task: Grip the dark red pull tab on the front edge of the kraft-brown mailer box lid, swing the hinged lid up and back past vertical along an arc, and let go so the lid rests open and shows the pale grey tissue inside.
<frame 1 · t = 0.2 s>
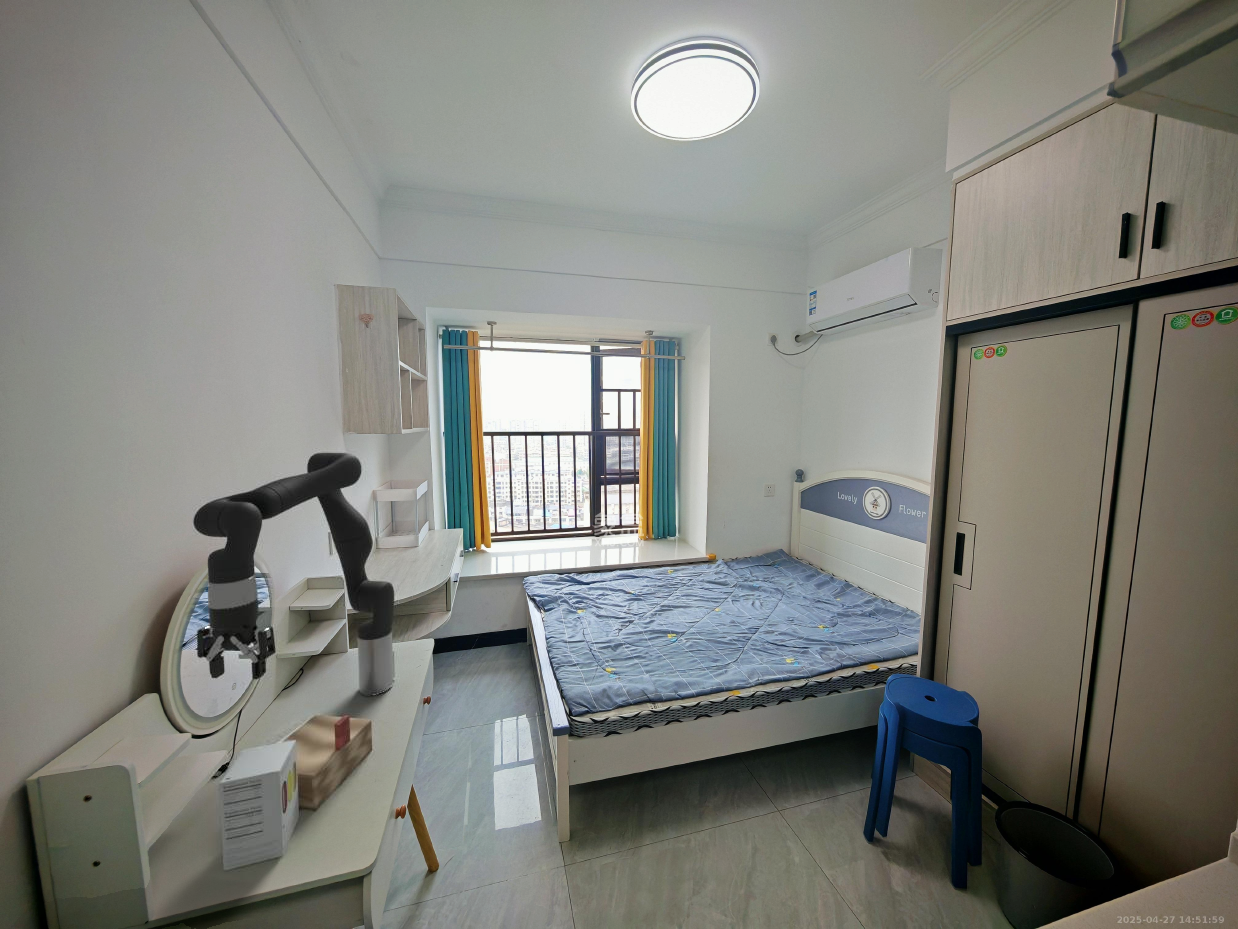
hand: (238, 676, 92), 29 cm above the table, tool pointing down, fingers open, 8 cm apart
external hard drive: (308, 737, 116), on the table
supplement box: (264, 843, 86), on the table
mailer base: (316, 774, 103), on the table
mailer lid: (314, 731, 102), point 10 cm above the table, hinge at 0.0°
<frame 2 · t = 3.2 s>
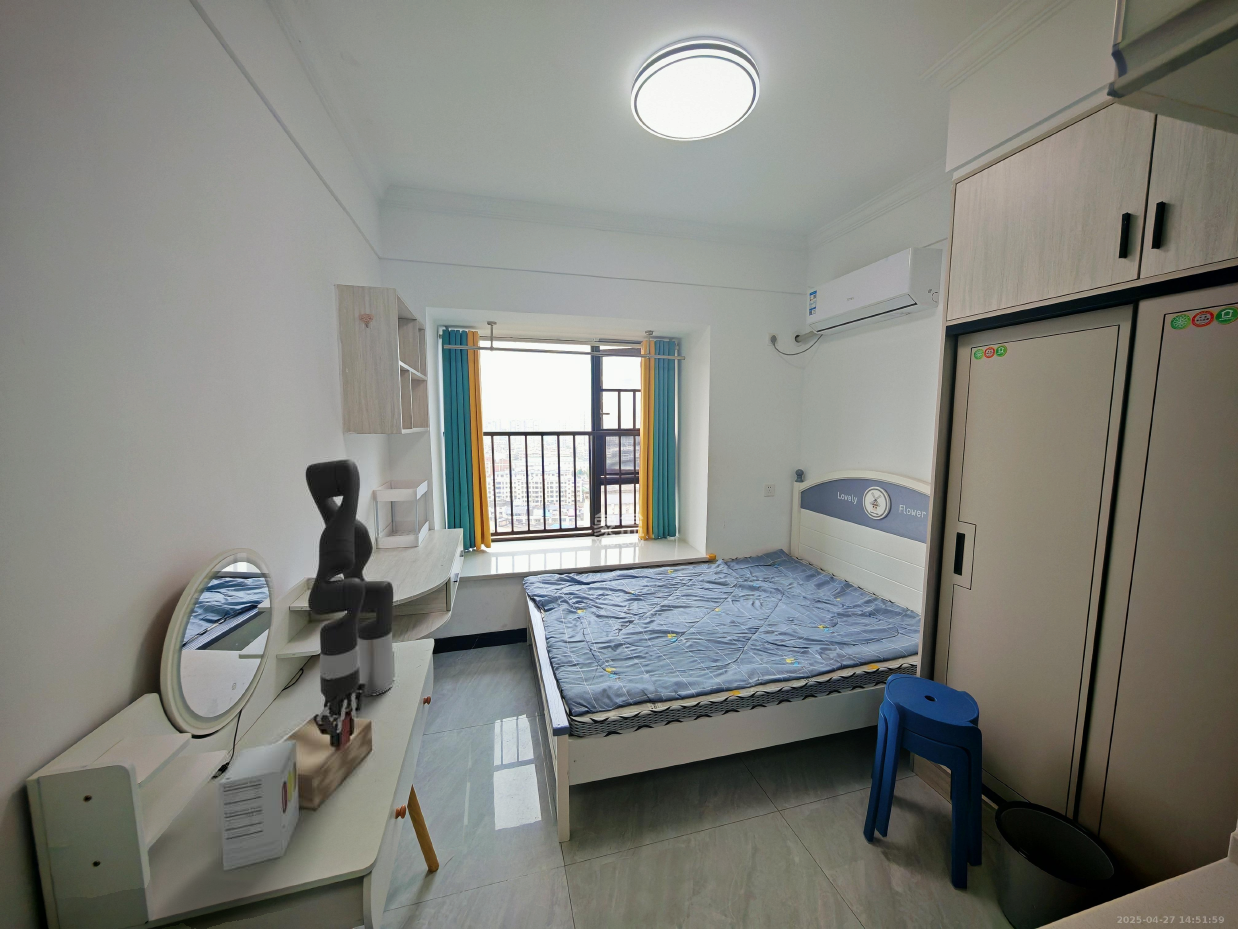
hand: (342, 740, 102), 9 cm above the table, tool pointing down, fingers closed on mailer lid, 3 cm apart
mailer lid: (314, 731, 102), point 10 cm above the table, hinge at 0.0°, touching gripper
everything else where it was.
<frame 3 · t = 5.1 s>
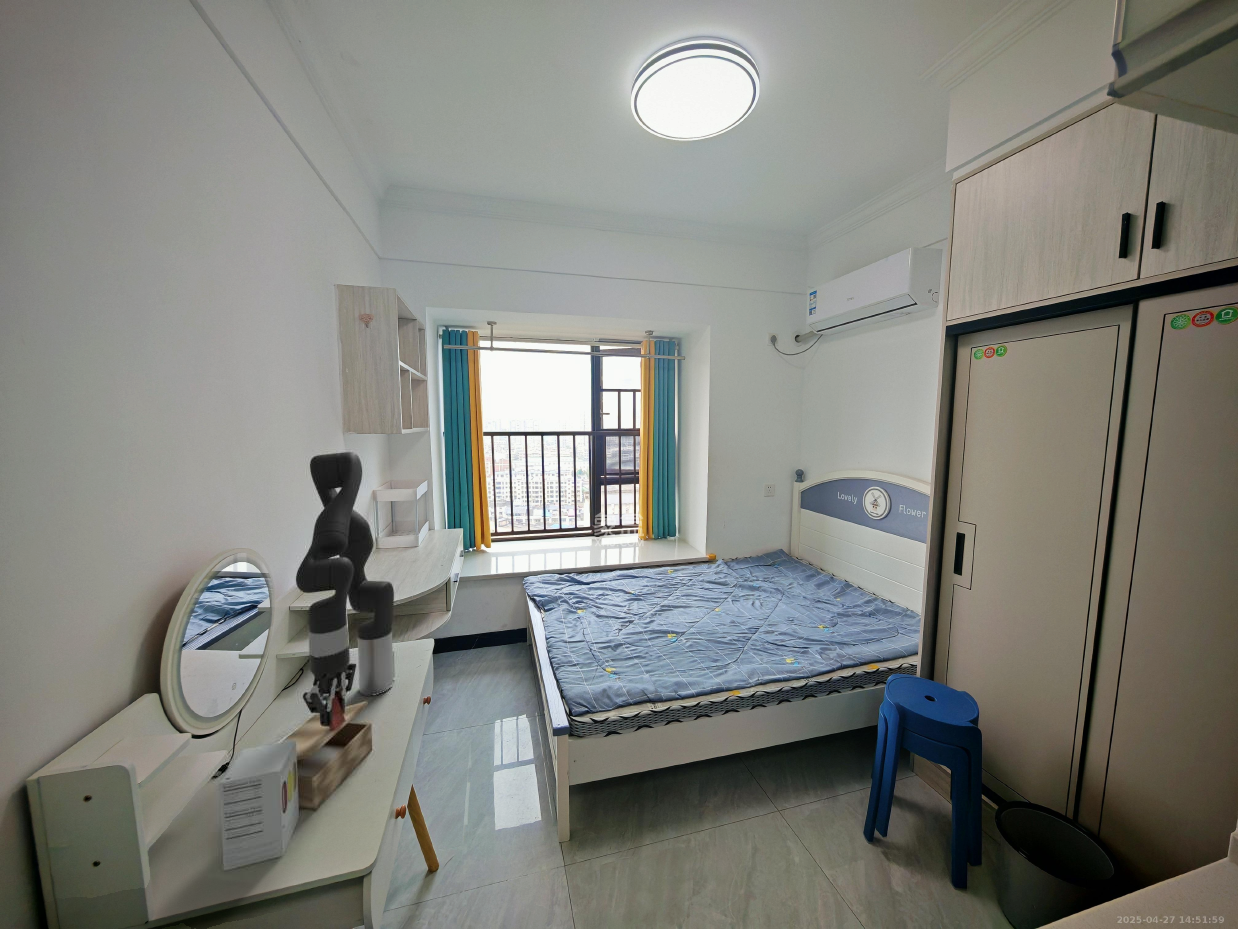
hand: (333, 719, 102), 14 cm above the table, tool pointing down, fingers closed on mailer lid, 3 cm apart
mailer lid: (308, 721, 102), point 13 cm above the table, hinge at 18.5°, touching gripper
everything else where it was.
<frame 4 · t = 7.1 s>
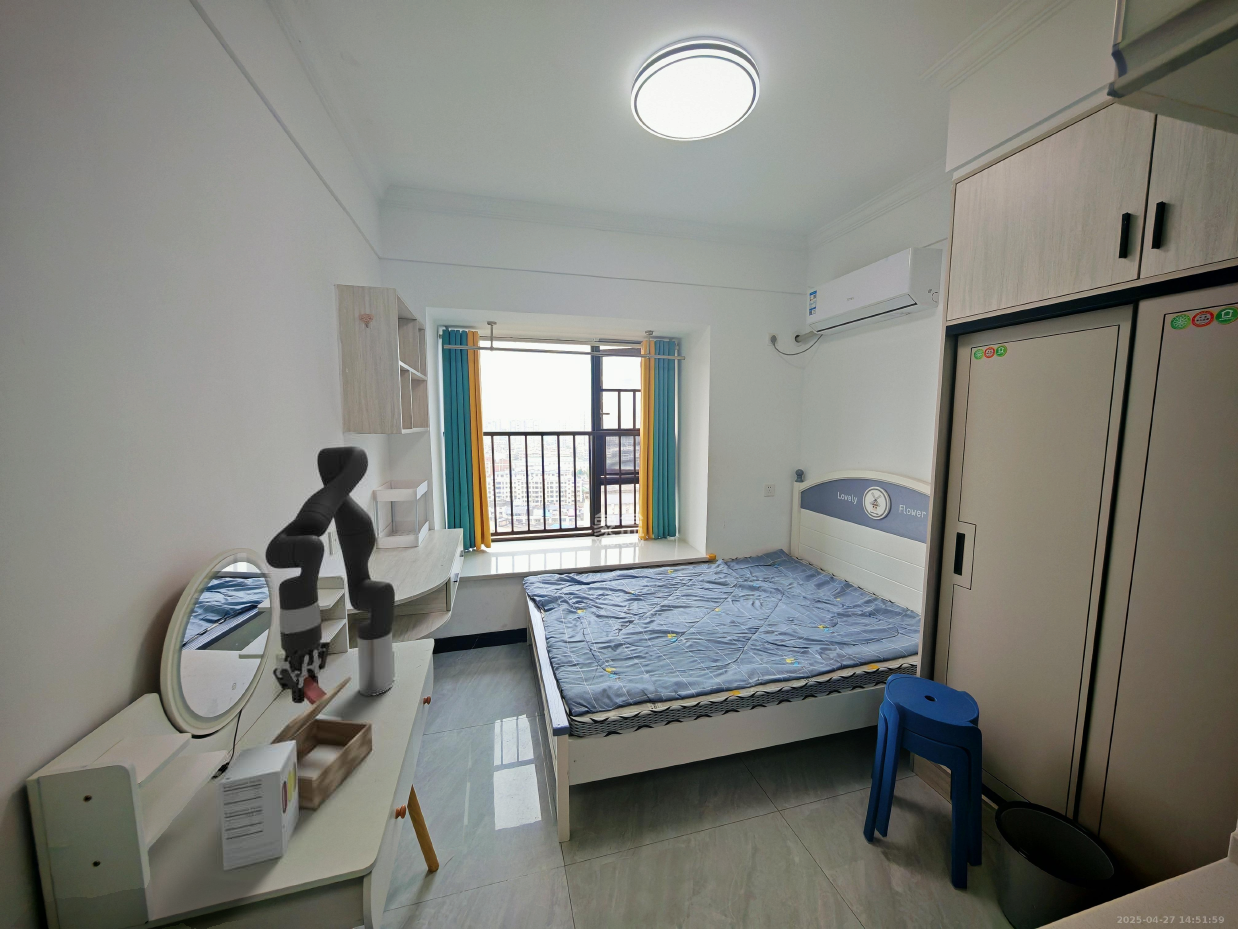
hand: (305, 697, 102), 19 cm above the table, tool pointing down, fingers closed on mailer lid, 3 cm apart
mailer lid: (293, 711, 103), point 15 cm above the table, hinge at 47.5°, touching gripper
everything else where it was.
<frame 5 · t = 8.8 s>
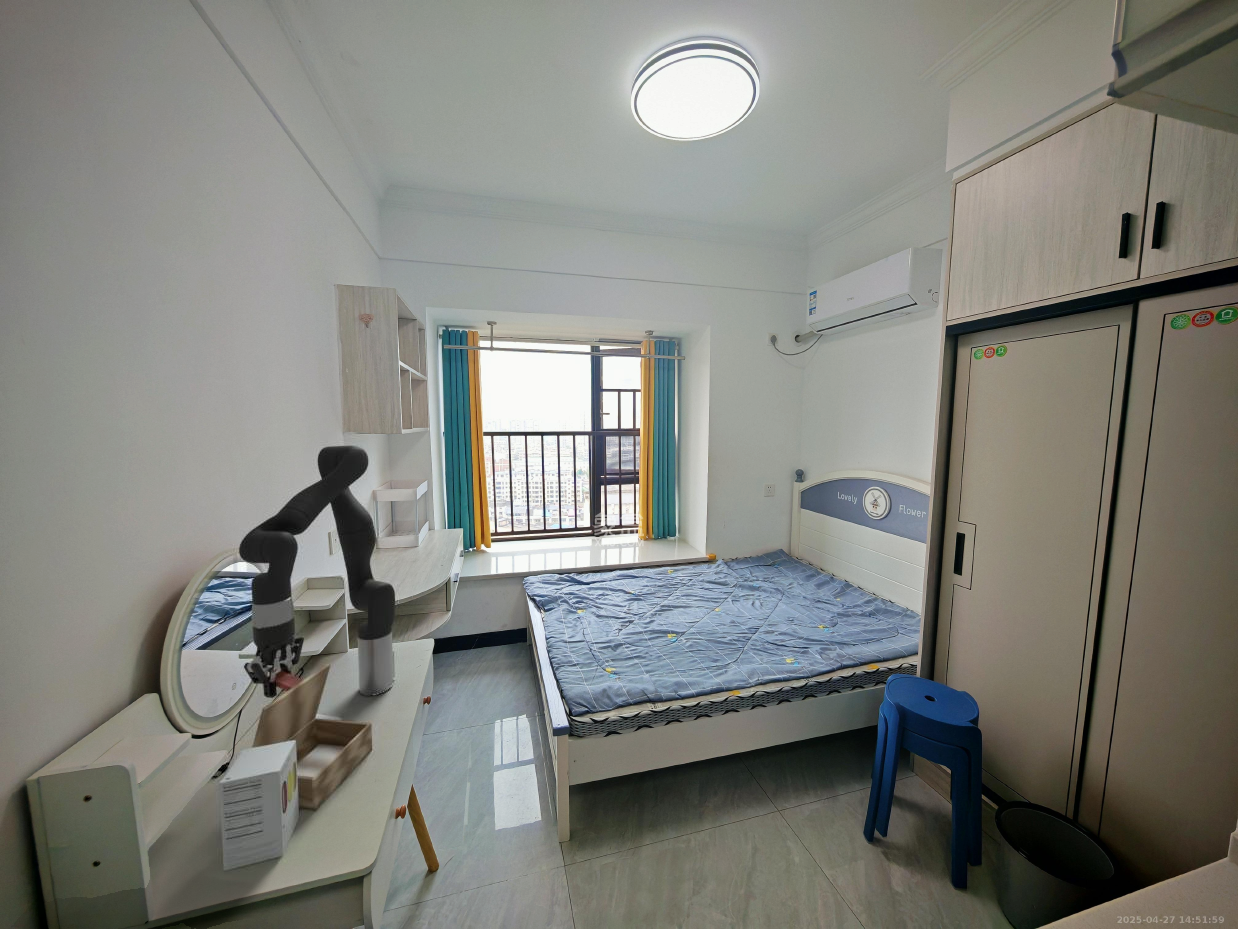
hand: (278, 691, 103), 19 cm above the table, tool pointing down, fingers closed on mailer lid, 3 cm apart
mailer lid: (280, 708, 103), point 15 cm above the table, hinge at 71.8°, touching gripper
everything else where it was.
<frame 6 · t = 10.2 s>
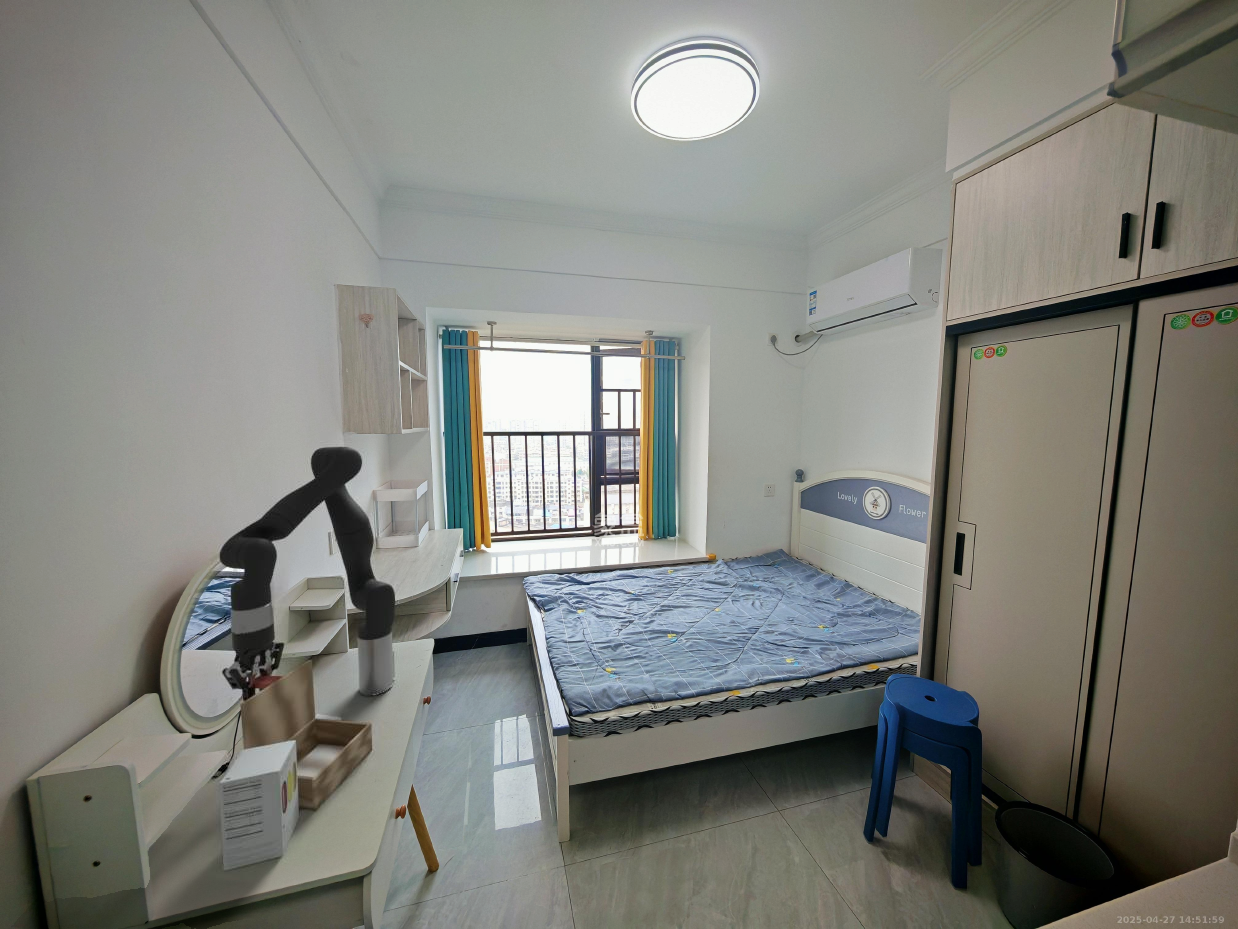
hand: (257, 696, 103), 18 cm above the table, tool pointing down, fingers closed on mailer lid, 3 cm apart
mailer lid: (269, 711, 103), point 14 cm above the table, hinge at 91.5°, touching gripper
everything else where it was.
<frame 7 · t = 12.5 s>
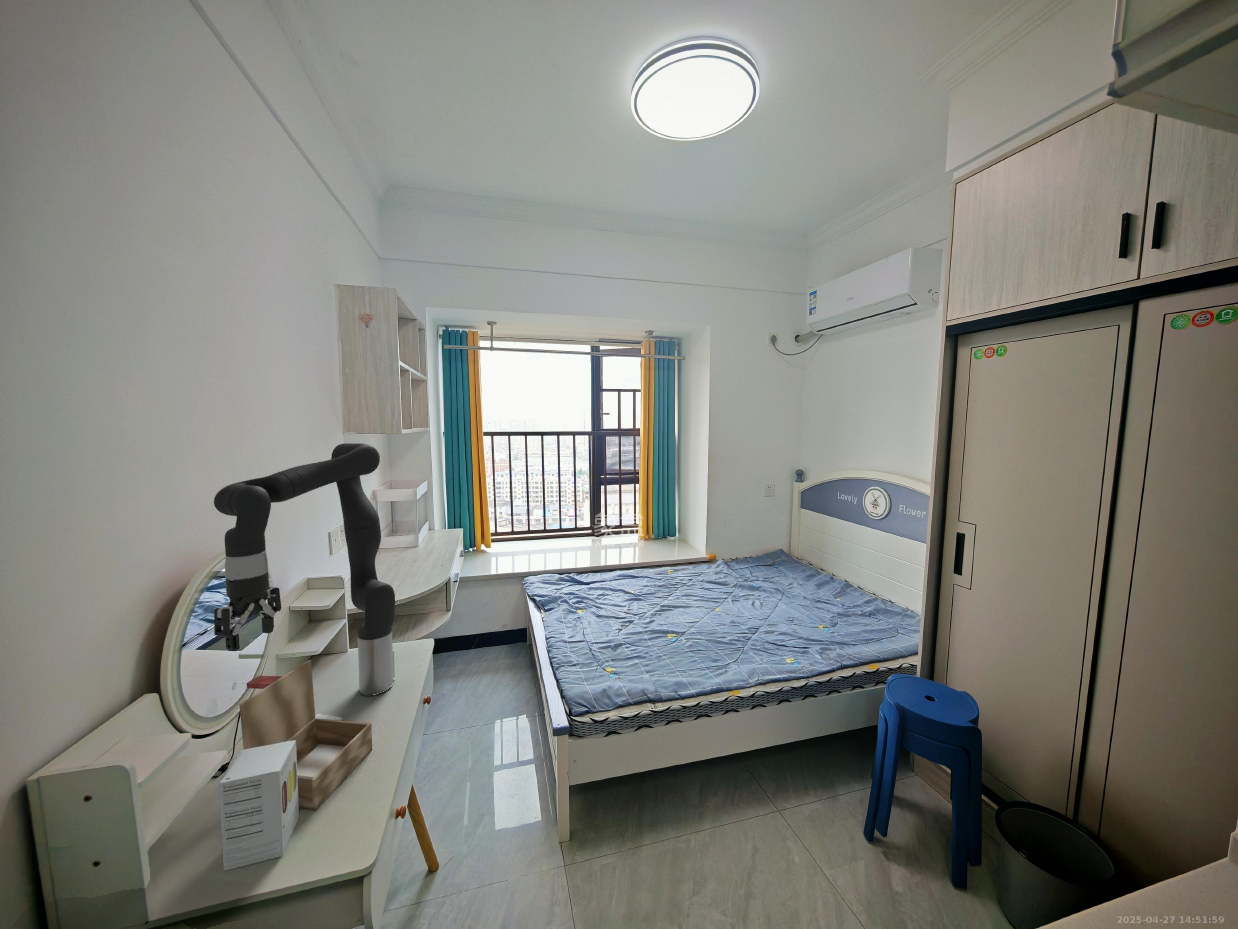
hand: (251, 641, 103), 30 cm above the table, tool pointing down, fingers open, 8 cm apart
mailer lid: (269, 711, 103), point 14 cm above the table, hinge at 92.3°
everything else where it was.
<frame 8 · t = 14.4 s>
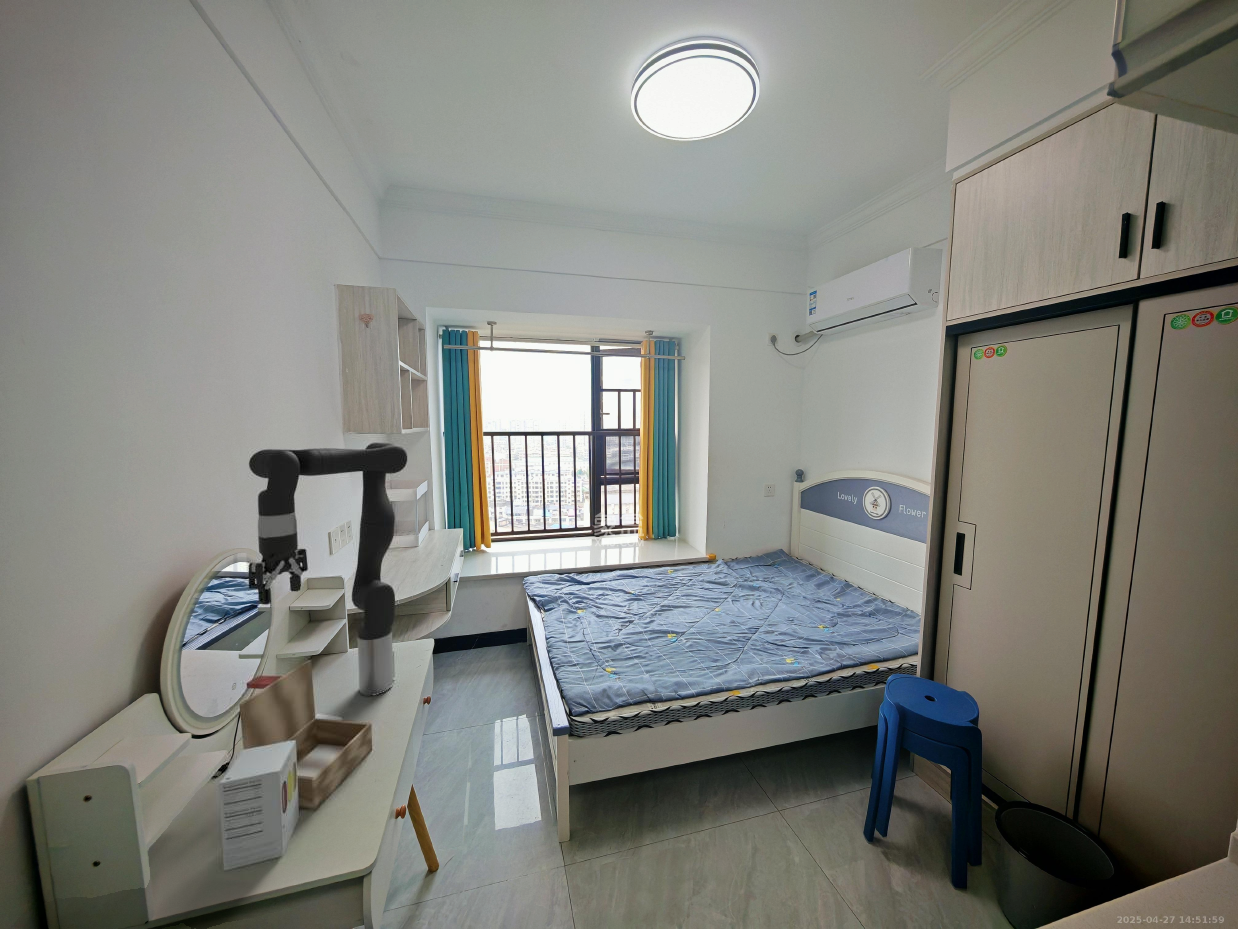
hand: (281, 597, 110), 38 cm above the table, tool pointing down, fingers open, 8 cm apart
nothing on the table moved.
at the end: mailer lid at +92° (first picture: +0°); the gripper is holding nothing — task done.
